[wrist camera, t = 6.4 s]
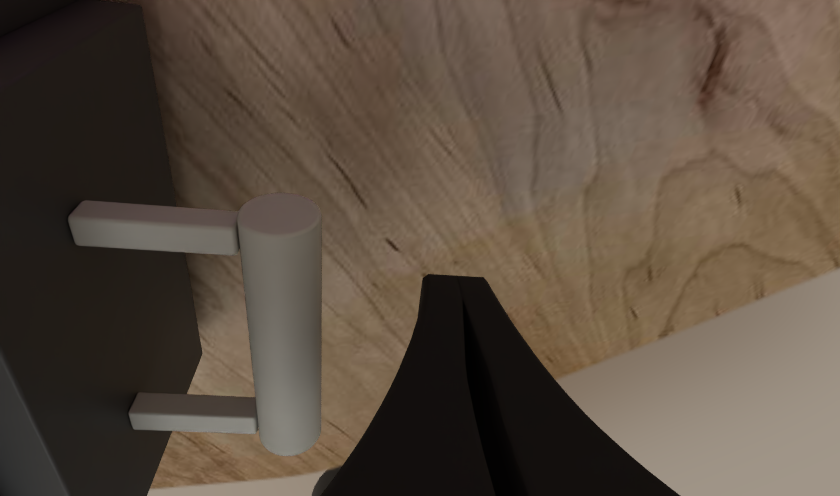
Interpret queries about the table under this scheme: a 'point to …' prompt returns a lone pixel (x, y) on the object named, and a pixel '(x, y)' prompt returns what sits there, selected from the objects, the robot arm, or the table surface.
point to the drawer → (128, 273)
